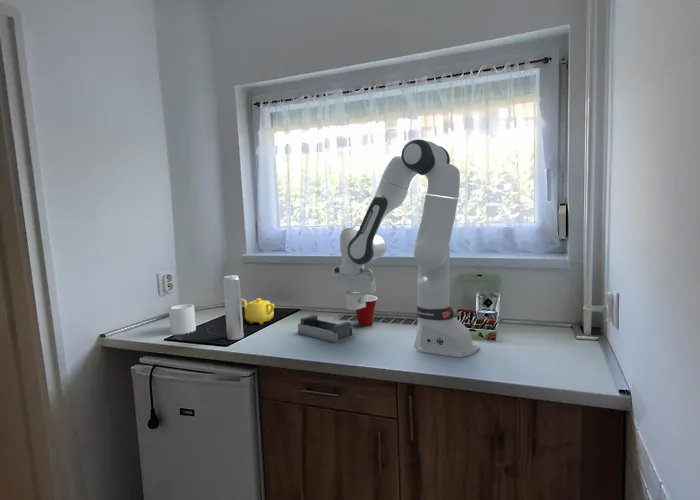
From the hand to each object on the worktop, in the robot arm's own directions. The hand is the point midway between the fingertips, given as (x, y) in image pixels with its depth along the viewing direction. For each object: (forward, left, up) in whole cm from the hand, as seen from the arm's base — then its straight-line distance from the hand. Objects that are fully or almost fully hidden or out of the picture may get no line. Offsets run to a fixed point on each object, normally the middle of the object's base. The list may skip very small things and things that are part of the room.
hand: (355, 302), depth 174 cm
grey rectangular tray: (+8, +10, -12) cm, 18 cm away
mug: (+64, +42, -12) cm, 77 cm away
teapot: (+48, +14, -12) cm, 51 cm away
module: (0, 0, -2) cm, 2 cm away
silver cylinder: (+35, +34, -12) cm, 50 cm away
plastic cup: (+5, -11, -12) cm, 17 cm away
